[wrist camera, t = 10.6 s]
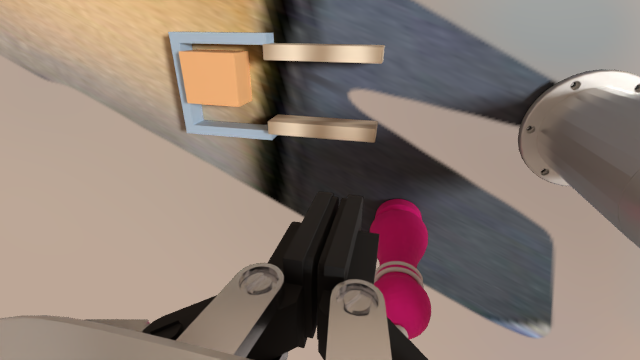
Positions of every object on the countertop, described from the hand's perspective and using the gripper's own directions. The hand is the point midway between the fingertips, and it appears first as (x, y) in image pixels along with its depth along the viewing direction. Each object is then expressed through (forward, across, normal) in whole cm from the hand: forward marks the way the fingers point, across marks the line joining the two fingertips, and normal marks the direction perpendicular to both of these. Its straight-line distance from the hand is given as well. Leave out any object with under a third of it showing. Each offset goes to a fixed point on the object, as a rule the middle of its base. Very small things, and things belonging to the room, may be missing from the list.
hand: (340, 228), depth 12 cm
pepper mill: (+29, -4, +17) cm, 34 cm away
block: (+29, +20, -1) cm, 35 cm away
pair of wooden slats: (+29, +7, 0) cm, 29 cm away
